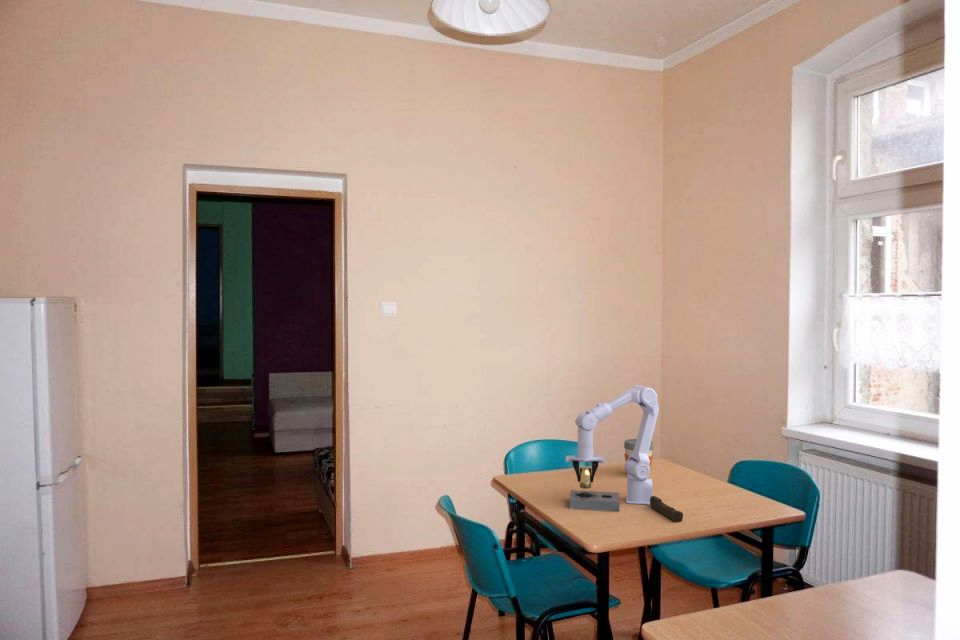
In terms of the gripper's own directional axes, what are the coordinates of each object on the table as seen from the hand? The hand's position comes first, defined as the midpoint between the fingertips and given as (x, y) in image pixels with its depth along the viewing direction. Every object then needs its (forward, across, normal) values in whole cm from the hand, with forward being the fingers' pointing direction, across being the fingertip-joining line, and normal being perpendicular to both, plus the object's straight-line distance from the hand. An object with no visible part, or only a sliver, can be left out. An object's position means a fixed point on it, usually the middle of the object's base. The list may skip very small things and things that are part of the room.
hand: (585, 481), depth 241 cm
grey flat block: (+9, +3, 0) cm, 10 cm away
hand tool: (+9, +28, -6) cm, 30 cm away
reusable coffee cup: (+9, +23, +47) cm, 53 cm away
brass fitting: (+2, 0, 0) cm, 2 cm away
